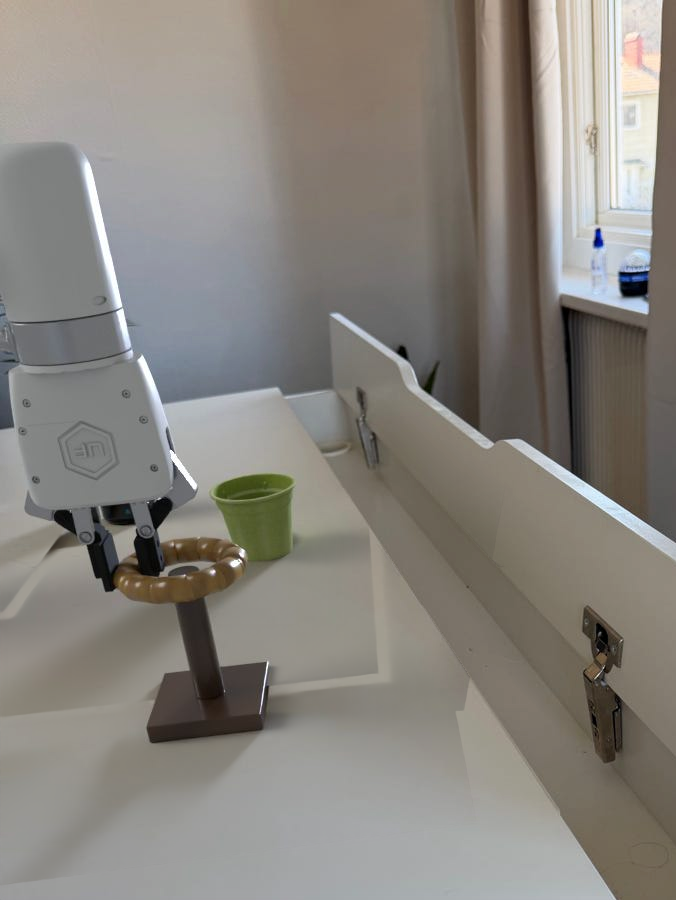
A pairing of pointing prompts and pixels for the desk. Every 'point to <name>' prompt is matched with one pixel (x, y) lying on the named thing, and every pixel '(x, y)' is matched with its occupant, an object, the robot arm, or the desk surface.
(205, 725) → the peg stand
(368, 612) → the desk surface
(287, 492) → the plant pot
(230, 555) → the ring
